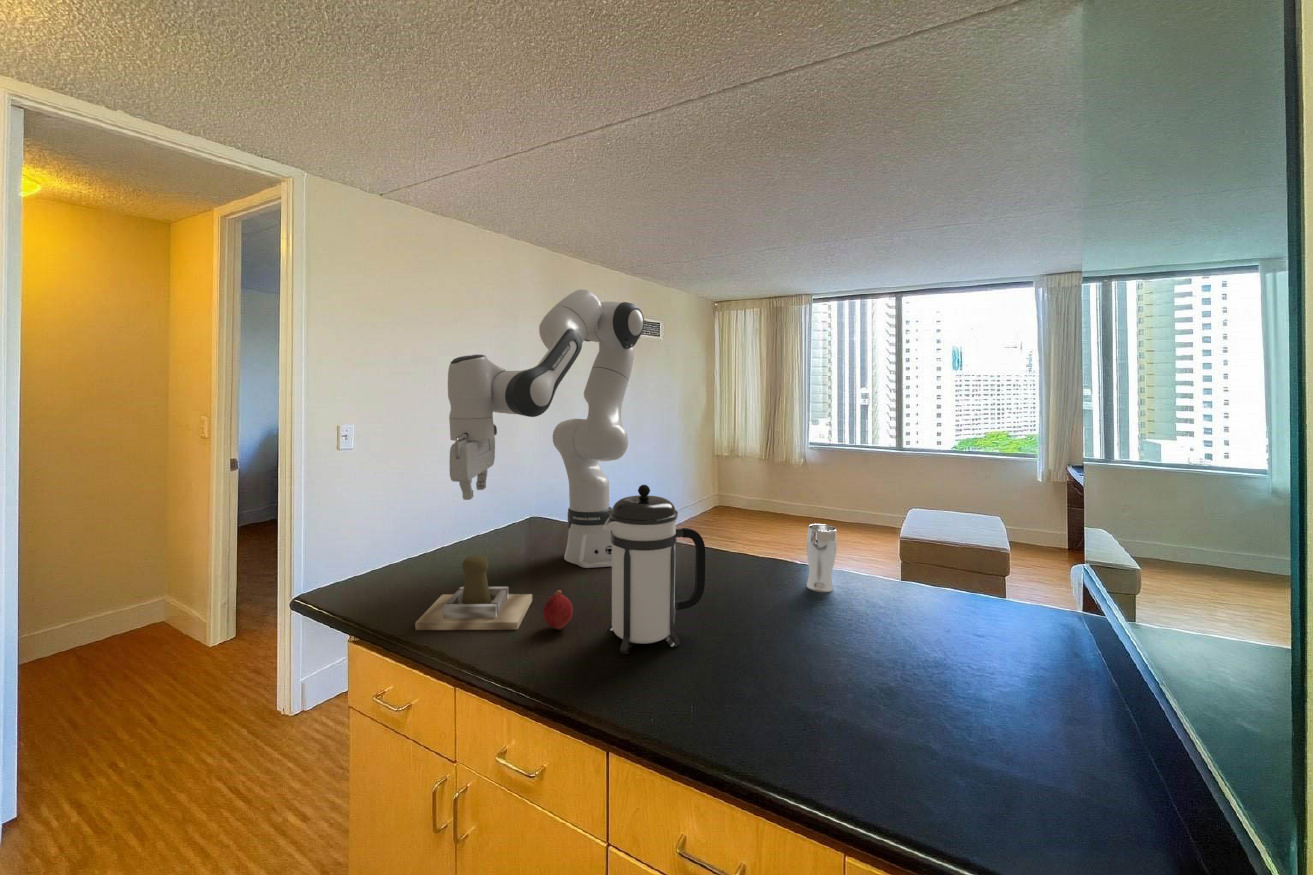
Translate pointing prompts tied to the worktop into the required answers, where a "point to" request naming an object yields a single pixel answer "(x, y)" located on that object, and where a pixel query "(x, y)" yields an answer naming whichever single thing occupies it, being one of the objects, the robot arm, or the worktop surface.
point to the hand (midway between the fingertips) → (475, 494)
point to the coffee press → (648, 569)
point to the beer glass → (821, 556)
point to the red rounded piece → (557, 611)
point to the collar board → (476, 612)
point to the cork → (476, 580)
